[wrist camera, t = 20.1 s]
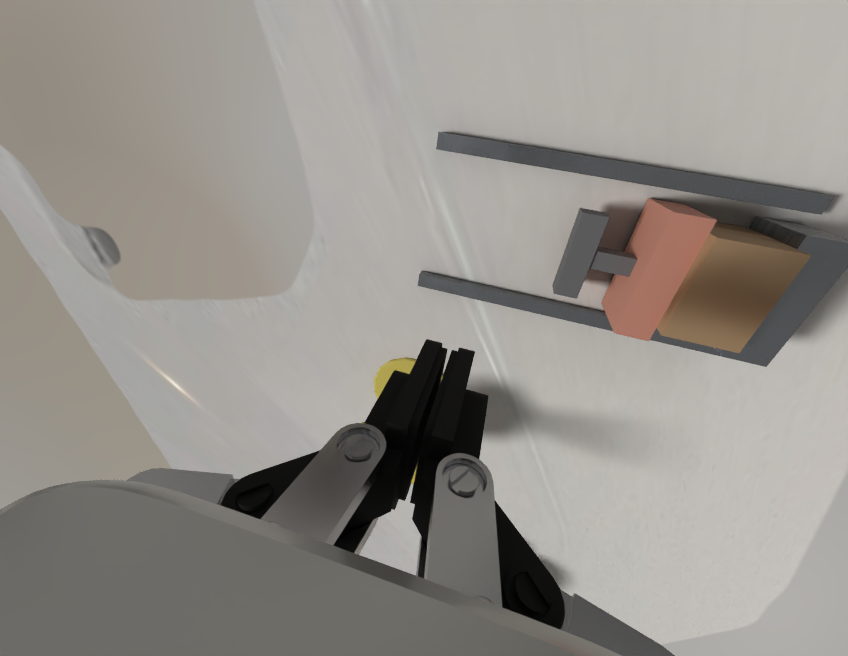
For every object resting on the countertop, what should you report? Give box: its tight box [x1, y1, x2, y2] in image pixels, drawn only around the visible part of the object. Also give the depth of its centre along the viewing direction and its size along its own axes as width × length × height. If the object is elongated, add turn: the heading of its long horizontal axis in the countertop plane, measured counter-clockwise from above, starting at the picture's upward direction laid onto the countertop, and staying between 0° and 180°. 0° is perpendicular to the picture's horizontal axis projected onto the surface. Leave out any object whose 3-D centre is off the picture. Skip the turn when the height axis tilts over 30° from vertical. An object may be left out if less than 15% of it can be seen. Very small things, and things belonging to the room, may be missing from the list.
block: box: [657, 222, 812, 353], centre depth 25 cm, size 7×5×7 cm
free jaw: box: [553, 198, 717, 341], centre depth 27 cm, size 9×7×6 cm
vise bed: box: [418, 132, 848, 367], centre depth 27 cm, size 13×27×6 cm, turn 82°
